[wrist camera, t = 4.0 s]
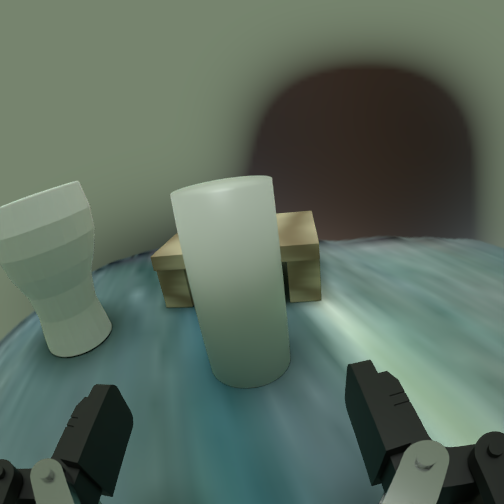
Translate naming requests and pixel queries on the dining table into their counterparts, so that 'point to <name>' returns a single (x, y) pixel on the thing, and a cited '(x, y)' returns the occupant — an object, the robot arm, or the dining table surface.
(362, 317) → the dining table surface
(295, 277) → the shelf stand
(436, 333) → the dining table surface
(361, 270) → the dining table surface
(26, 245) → the cup
